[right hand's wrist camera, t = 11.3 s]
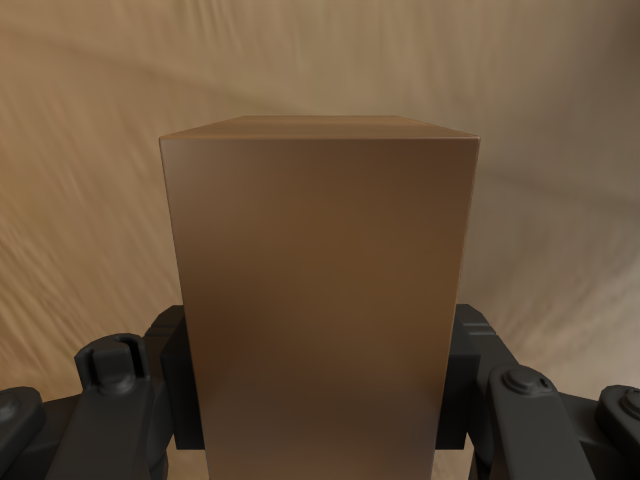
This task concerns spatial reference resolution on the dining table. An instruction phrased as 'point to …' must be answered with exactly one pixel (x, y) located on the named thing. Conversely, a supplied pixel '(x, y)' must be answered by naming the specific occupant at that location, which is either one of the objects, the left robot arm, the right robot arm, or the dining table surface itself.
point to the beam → (319, 289)
